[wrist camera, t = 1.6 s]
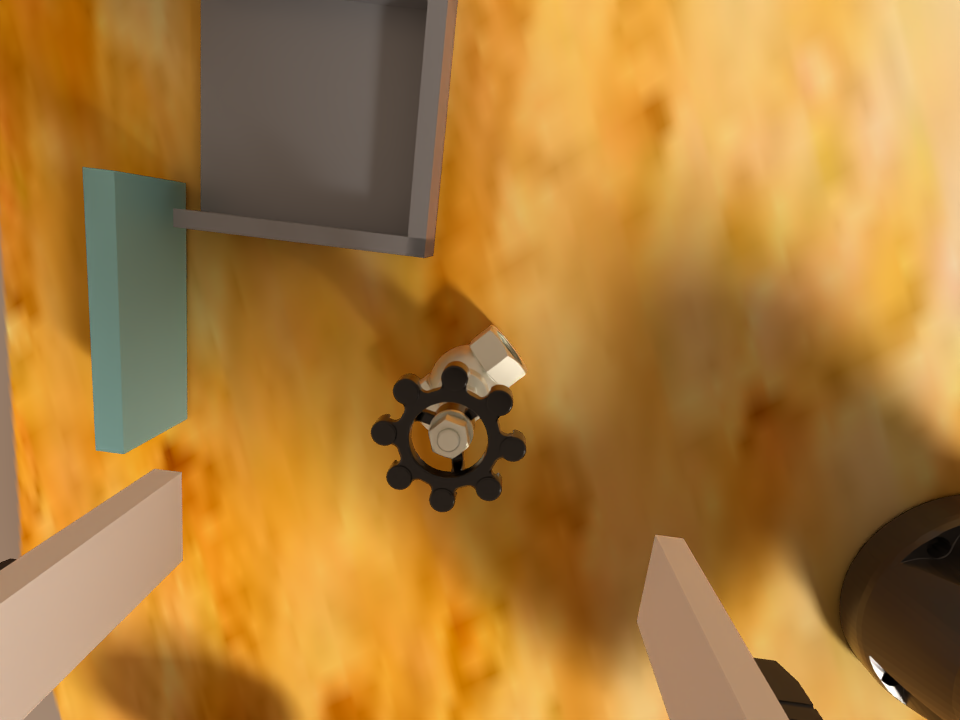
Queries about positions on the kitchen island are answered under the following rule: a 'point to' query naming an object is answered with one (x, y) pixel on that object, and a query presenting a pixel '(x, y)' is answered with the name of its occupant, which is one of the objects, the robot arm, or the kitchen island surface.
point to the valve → (456, 418)
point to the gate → (135, 306)
